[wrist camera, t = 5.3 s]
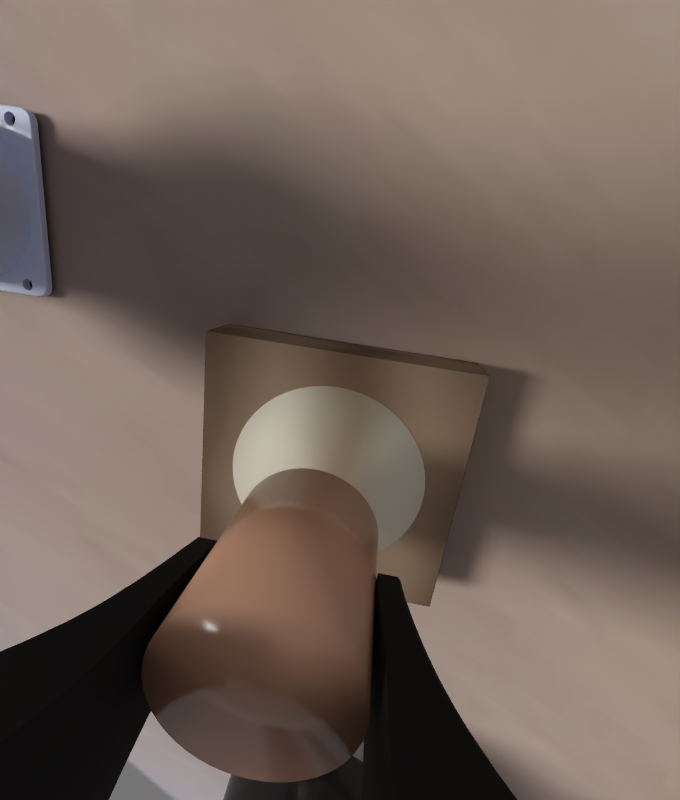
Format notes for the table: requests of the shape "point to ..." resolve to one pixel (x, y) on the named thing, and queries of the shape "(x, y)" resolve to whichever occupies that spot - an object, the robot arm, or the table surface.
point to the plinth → (342, 434)
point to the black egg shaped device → (304, 785)
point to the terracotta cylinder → (274, 635)
